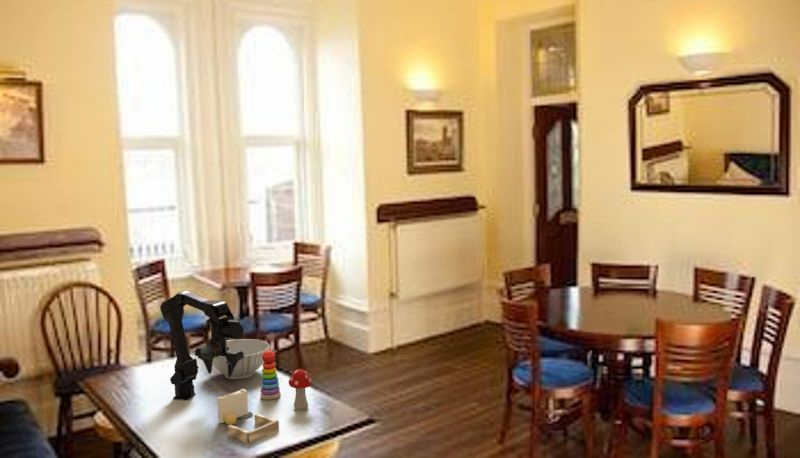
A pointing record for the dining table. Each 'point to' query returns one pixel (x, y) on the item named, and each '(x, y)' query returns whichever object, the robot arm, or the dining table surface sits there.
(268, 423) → the tray
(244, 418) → the pivot plate
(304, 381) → the decorative mushroom
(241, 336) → the robot arm
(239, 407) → the lever
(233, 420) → the ball
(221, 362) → the decorative bowl
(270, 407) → the dining table surface
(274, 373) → the stacking toy
